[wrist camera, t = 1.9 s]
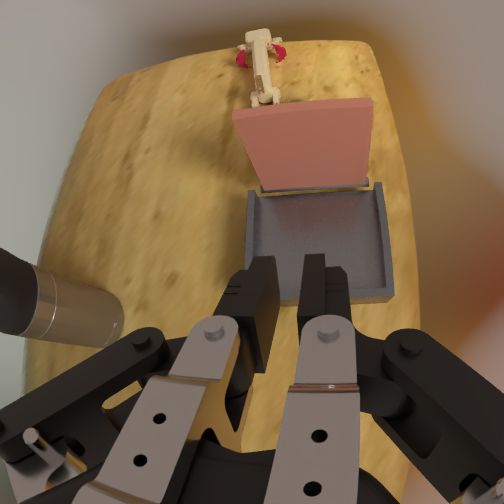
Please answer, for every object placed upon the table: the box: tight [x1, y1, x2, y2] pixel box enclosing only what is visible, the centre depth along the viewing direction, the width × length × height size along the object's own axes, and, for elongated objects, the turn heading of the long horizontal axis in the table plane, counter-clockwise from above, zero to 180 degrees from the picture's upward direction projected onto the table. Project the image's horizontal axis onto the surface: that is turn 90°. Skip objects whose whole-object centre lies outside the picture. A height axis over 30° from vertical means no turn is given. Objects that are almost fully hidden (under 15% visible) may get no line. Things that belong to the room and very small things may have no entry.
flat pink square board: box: [232, 98, 373, 193], centre depth 33 cm, size 2×14×15 cm, turn 88°
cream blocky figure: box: [236, 28, 287, 108], centre depth 50 cm, size 10×9×25 cm
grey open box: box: [244, 182, 395, 307], centre depth 38 cm, size 14×17×5 cm
